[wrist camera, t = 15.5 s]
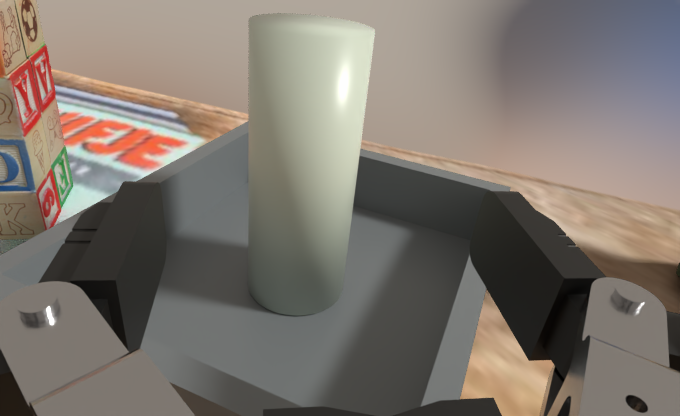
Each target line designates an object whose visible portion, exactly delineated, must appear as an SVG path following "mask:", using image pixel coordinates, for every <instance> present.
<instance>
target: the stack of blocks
mask: <svg viewBox="0 0 680 416" xmlns="http://www.w3.org/2000/svg"><path fill="white" fill-rule="evenodd" d="M55 95H56V93H55V87H54V81H53V77H52V73H51V66H50V63H49V56H48V51H47V47H46V45H45V43H44V38H43V32H42V28H41V22H40V17H39V12H38V6H37V1H36V0H0V240H9V239H31V238H33V237H35V236H37V235H38V234H40V233H42V232H44V231H46V230H48V229H50V228H51V227H53V226H54V224H55V222H56V220H57V218H58V216H59V214H60V212H61V208H62V206H63V204H64V202H65V200H66V199H67V197H68V195H69V193H70V191H71V189H72V187H73V181H72V175H71V170H70V165H69V161H68V156H67V151H66V147H65V145H64V138H63V133H62V127H61V122H60V116H59V111H58V106H57V100H56V98H55Z"/></svg>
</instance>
